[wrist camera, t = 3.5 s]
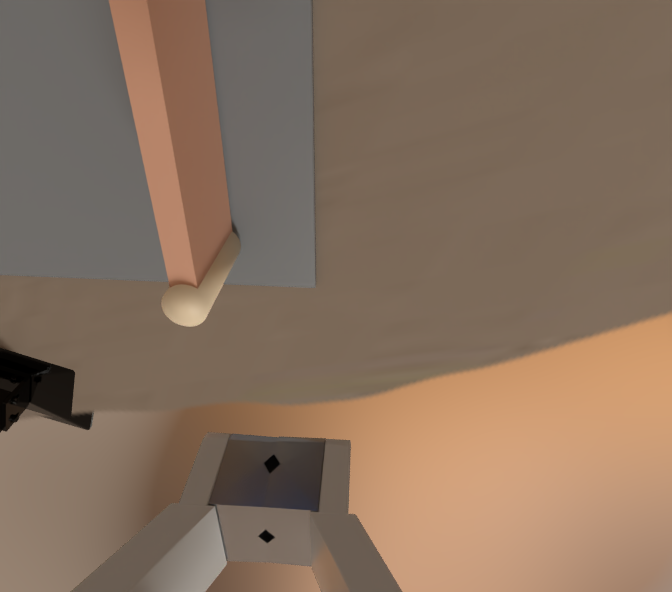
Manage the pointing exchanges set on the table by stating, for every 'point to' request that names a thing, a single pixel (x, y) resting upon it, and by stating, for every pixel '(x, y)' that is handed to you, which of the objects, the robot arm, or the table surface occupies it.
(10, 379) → the black angular piece
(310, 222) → the board
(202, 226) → the fence panel
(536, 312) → the table surface
